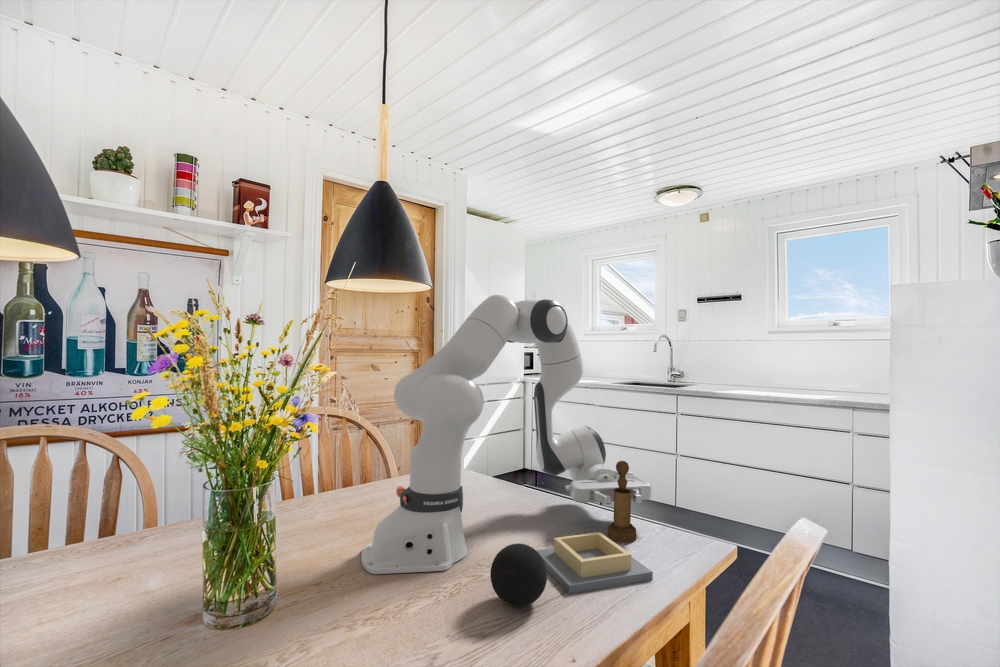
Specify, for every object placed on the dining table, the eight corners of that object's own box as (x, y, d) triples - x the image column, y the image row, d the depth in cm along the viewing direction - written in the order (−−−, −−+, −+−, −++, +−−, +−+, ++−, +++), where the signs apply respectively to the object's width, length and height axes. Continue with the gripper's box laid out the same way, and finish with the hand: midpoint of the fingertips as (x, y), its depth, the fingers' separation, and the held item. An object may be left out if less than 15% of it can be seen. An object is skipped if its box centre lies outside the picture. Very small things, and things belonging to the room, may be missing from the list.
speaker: (534, 585, 93) (534, 532, 93) (555, 613, 83) (556, 554, 84) (483, 592, 90) (484, 538, 90) (499, 622, 80) (500, 561, 81)
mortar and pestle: (629, 545, 112) (629, 466, 112) (603, 538, 116) (603, 461, 116) (640, 536, 117) (640, 460, 118) (614, 530, 121) (615, 456, 121)
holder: (569, 593, 90) (569, 569, 90) (535, 557, 105) (535, 536, 105) (652, 579, 96) (652, 556, 96) (608, 547, 111) (608, 527, 111)
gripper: (563, 473, 128) (581, 488, 114) (636, 470, 131) (662, 485, 118) (562, 497, 127) (581, 516, 114) (636, 494, 131) (662, 511, 118)
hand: (623, 500), depth 116 cm, fingers open, 6 cm apart
